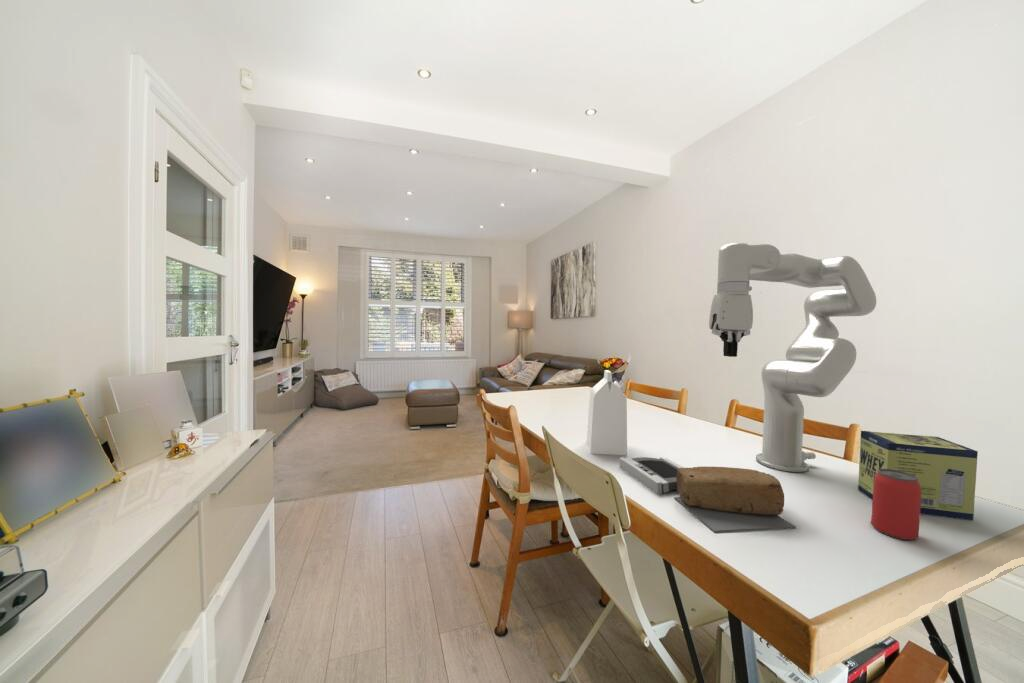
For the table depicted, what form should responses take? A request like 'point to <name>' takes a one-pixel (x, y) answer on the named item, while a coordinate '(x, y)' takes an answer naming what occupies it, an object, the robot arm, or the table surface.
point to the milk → (607, 418)
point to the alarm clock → (652, 472)
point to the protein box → (923, 470)
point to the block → (730, 490)
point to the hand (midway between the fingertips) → (730, 356)
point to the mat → (735, 519)
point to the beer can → (896, 504)
